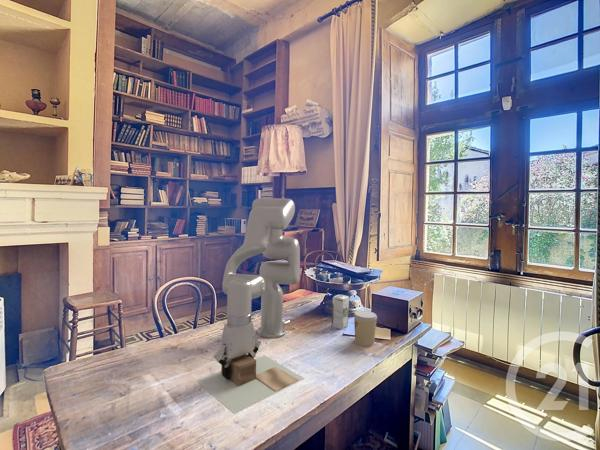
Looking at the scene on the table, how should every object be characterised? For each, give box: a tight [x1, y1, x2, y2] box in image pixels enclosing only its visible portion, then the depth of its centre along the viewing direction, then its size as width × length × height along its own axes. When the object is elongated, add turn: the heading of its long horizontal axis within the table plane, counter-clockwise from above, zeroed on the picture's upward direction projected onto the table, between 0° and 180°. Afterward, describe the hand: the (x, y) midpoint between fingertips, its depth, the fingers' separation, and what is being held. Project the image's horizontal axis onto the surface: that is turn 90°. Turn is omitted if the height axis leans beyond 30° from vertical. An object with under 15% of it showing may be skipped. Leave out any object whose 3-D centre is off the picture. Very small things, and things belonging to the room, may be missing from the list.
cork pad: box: [256, 367, 298, 391], centre depth 99 cm, size 9×11×1 cm
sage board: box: [196, 355, 306, 415], centre depth 99 cm, size 26×21×1 cm
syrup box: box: [330, 294, 350, 330], centre depth 148 cm, size 6×6×14 cm
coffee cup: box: [353, 310, 378, 347], centre depth 131 cm, size 9×9×12 cm
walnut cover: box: [220, 353, 256, 387], centre depth 100 cm, size 10×6×6 cm, turn 44°
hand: (238, 372), depth 100 cm, fingers open, 8 cm apart
